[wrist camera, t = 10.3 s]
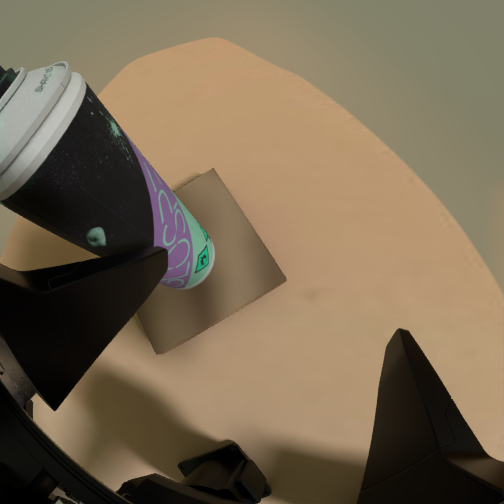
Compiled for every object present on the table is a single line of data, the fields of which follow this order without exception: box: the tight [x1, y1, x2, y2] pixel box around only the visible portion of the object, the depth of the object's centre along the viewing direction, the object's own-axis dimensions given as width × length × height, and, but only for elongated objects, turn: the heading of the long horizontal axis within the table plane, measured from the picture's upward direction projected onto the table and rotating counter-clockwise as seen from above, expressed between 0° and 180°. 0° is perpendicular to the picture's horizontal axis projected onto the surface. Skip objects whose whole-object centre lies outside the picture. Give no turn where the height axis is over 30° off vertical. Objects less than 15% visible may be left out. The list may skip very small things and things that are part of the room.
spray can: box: [0, 61, 215, 290], centre depth 13 cm, size 6×6×20 cm
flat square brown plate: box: [137, 168, 287, 355], centre depth 24 cm, size 12×12×2 cm
